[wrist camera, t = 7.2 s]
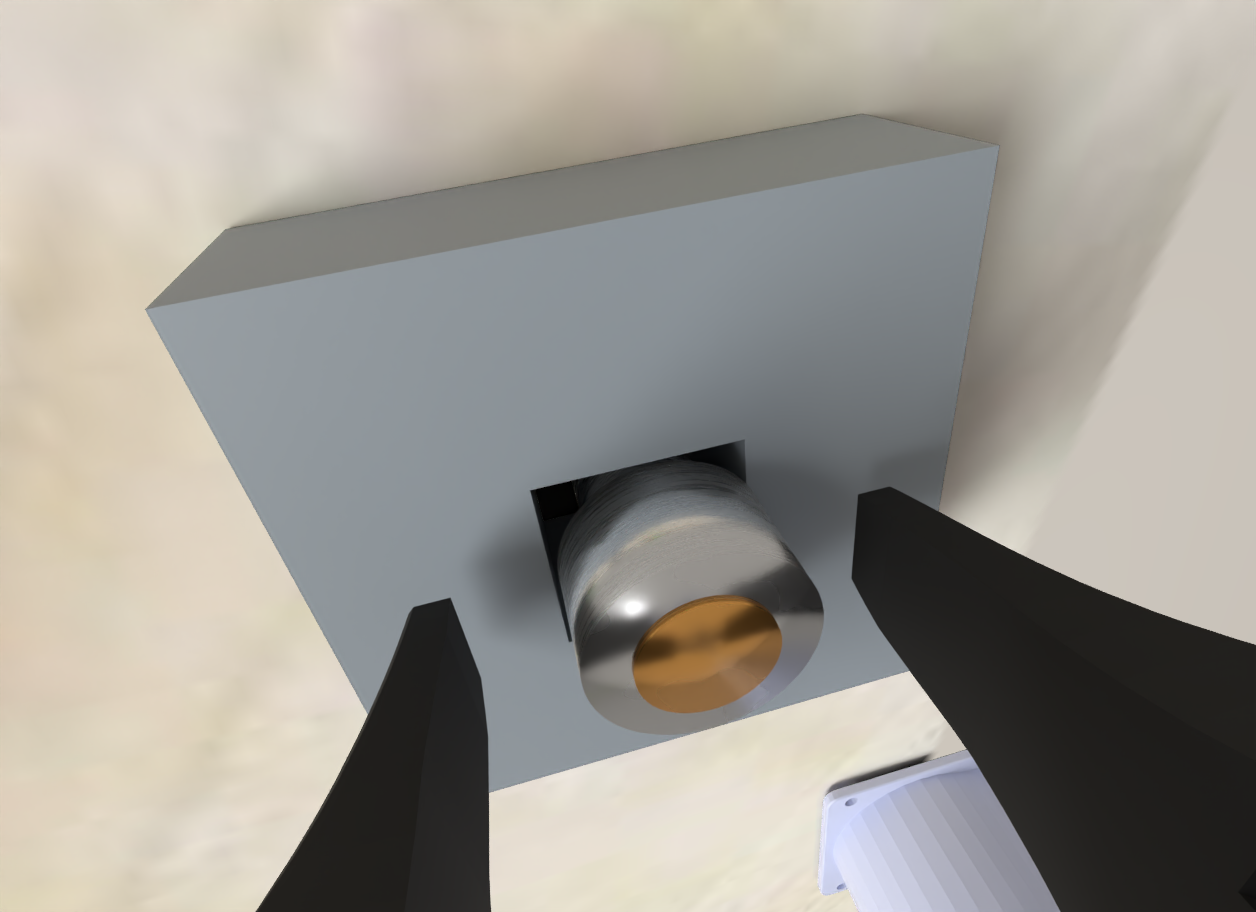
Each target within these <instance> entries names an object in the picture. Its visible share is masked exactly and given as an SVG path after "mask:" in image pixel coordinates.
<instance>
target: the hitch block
mask: <svg viewBox="0 0 1256 912" xmlns="http://www.w3.org/2000/svg"><path fill="white" fill-rule="evenodd" d="M999 146H1000V145H996V144H992V143H987V142H983V141H978V140H974V139H970V138H965V137H961V136H956V135H952V134H948V133H943V132H939V131H935V130H930V129H926V128H921V127H917V126H913V125H908V124H904V123H899V122H895V121H891V120H886V119H882V118H877V117H873V116H869V115H864V114H860V115H854V116H849V117H843V118H838V119H832V120H826V121H821V122H815V123H810V124H804V125H799V126H793V127H788V128H782V129H777V130H771V131H766V132H760V133H755V134H749V135H744V136H738V137H733V138H727V139H722V140H716V141H710V142H705V143H699V144H694V145H688V146H683V147H677V148H672V149H666V150H661V151H655V152H650V153H644V154H639V155H633V156H628V157H622V158H617V159H611V160H605V161H600V162H594V163H589V164H583V165H578V166H572V167H567V168H561V169H556V170H550V171H545V172H539V173H534V174H528V175H523V176H517V177H512V178H506V179H501V180H495V181H489V182H484V183H478V184H473V185H467V186H462V187H456V188H451V189H445V190H440V191H434V192H429V193H423V194H418V195H412V196H407V197H401V198H396V199H390V200H384V201H379V202H373V203H368V204H362V205H357V206H351V207H346V208H340V209H335V210H329V211H324V212H318V213H313V214H307V215H302V216H296V217H291V218H285V219H280V220H274V221H268V222H263V223H257V224H252V225H246V226H241V227H235V228H230V229H225V230H224V231H223V232H222V233H221V234H220V235H219V236H218V237H217V238H216V239H215V240H214V241H213V242H212V243H211V244H210V245H209V246H208V247H207V248H206V249H205V250H204V251H203V252H202V253H201V254H200V255H199V256H198V257H197V258H196V259H195V260H194V261H193V262H192V263H191V264H190V265H189V266H188V267H187V268H186V269H185V270H184V271H183V272H182V273H181V274H180V275H179V276H178V277H177V278H176V279H175V280H174V281H173V282H172V283H171V284H170V285H169V286H168V287H167V288H166V289H165V290H164V291H163V292H162V293H161V294H160V295H159V296H158V297H157V298H156V299H155V300H154V301H153V302H152V303H151V304H150V305H149V306H148V307H147V308H146V309H145V310H146V312H147V314H148V316H149V318H150V319H151V321H152V323H153V325H154V327H155V328H156V330H157V332H158V334H159V336H160V338H161V339H162V341H163V343H164V345H165V347H166V348H167V350H168V352H169V354H170V356H171V358H172V359H173V361H174V363H175V365H176V367H177V368H178V370H179V372H180V374H181V376H182V378H183V379H184V381H185V383H186V385H187V387H188V388H189V390H190V392H191V394H192V396H193V398H194V399H195V401H196V403H197V405H198V407H199V408H200V410H201V412H202V414H203V416H204V418H205V419H206V421H207V423H208V425H209V427H210V428H211V430H212V432H213V434H214V436H215V437H216V439H217V441H218V443H219V445H220V447H221V448H222V450H223V452H224V454H225V456H226V457H227V459H228V461H229V463H230V465H231V467H232V468H233V470H234V472H235V474H236V476H237V477H238V479H239V481H240V483H241V485H242V487H243V488H244V490H245V492H246V494H247V496H248V497H249V499H250V501H251V503H252V505H253V507H254V508H255V510H256V512H257V514H258V516H259V517H260V519H261V521H262V523H263V525H264V527H265V528H266V530H267V532H268V534H269V536H270V537H271V539H272V541H273V543H274V545H275V547H276V548H277V550H278V552H279V554H280V556H281V557H282V559H283V561H284V563H285V565H286V567H287V568H288V570H289V572H290V574H291V576H292V577H293V579H294V581H295V583H296V585H297V587H298V588H299V590H300V592H301V594H302V596H303V597H304V599H305V601H306V603H307V605H308V607H309V608H310V610H311V612H312V614H313V616H314V617H315V619H316V621H317V623H318V625H319V627H320V628H321V630H322V632H323V634H324V636H325V637H326V639H327V641H328V643H329V645H330V647H331V648H332V650H333V652H334V654H335V656H336V657H337V659H338V661H339V663H340V665H341V666H342V668H343V670H344V672H345V674H346V676H347V677H348V679H349V681H350V683H351V685H352V686H353V688H354V690H355V692H356V694H357V696H358V697H359V699H360V701H361V703H362V705H363V706H364V708H365V710H366V712H367V714H369V711H370V709H371V707H372V705H373V702H374V700H375V698H376V696H377V693H378V691H379V689H380V687H381V684H382V682H383V680H384V677H385V675H386V672H387V670H388V667H389V665H390V662H391V660H392V658H393V655H394V652H395V650H396V647H397V645H398V642H399V639H400V636H401V634H402V631H403V628H404V625H405V622H406V620H407V617H408V614H409V612H410V611H411V610H412V608H413V607H415V606H419V605H423V604H427V603H431V602H435V601H439V600H443V599H447V598H451V600H452V603H453V605H454V608H455V610H456V613H457V616H458V618H459V621H460V624H461V626H462V629H463V631H464V634H465V637H466V639H467V642H468V645H469V647H470V650H471V653H472V655H473V658H474V660H475V663H476V666H477V668H478V671H479V674H480V676H481V681H482V688H483V696H484V704H485V712H486V721H487V730H488V757H489V793H490V792H493V791H497V790H500V789H504V788H507V787H510V786H514V785H517V784H521V783H524V782H528V781H531V780H535V779H538V778H541V777H545V776H548V775H552V774H555V773H559V772H562V771H566V770H569V769H572V768H576V767H579V766H583V765H586V764H590V763H593V762H597V761H600V760H603V759H607V758H610V757H614V756H617V755H621V754H624V753H628V752H631V751H635V750H638V749H641V748H645V747H648V746H652V745H655V744H659V743H662V742H666V741H669V740H672V739H676V738H679V737H683V736H686V735H690V734H693V733H697V732H700V731H697V732H692V733H685V734H674V735H656V734H646V733H640V732H635V731H632V730H628V729H625V728H623V727H620V726H618V725H616V724H614V723H612V722H610V721H609V720H607V719H605V718H604V717H603V716H602V715H601V714H599V713H598V712H597V711H596V710H595V709H594V707H593V706H592V705H591V704H590V702H589V701H588V699H587V697H586V695H585V693H584V690H583V686H582V683H581V679H580V674H579V669H578V665H577V660H576V655H575V650H574V646H573V641H572V636H571V632H570V627H569V622H568V618H567V613H566V608H565V603H564V599H563V594H562V589H561V585H560V580H559V575H558V567H557V558H558V549H559V545H560V541H561V538H562V536H563V533H564V531H565V528H566V527H567V525H568V523H569V522H570V520H571V518H572V517H573V515H574V514H575V513H573V514H569V515H565V516H561V517H557V518H553V519H549V520H545V521H543V517H542V513H541V509H540V505H539V501H538V497H537V493H536V489H538V488H542V487H546V486H551V485H555V484H559V483H563V482H568V481H572V480H576V479H580V478H584V477H589V476H593V475H597V474H601V473H605V472H610V471H614V470H618V469H622V468H626V467H631V466H635V465H639V464H643V463H647V462H652V461H656V460H660V459H664V458H668V457H673V456H677V455H681V454H685V453H688V455H689V456H690V458H691V460H692V461H699V462H704V463H708V464H713V465H716V466H718V467H721V468H724V469H726V470H728V471H729V472H731V473H733V474H735V475H736V476H738V477H739V478H740V479H741V480H743V481H744V482H745V483H746V484H747V485H748V486H749V488H750V489H751V490H752V491H753V493H754V494H755V496H756V497H757V499H758V500H759V502H760V503H761V505H762V506H763V508H764V509H765V511H766V512H767V514H768V515H769V517H770V518H771V520H772V522H773V523H774V525H775V526H776V528H777V529H778V531H779V532H780V534H781V535H782V537H783V538H784V540H785V541H786V543H787V544H788V546H789V547H790V549H791V550H792V552H793V553H794V555H795V556H796V558H797V559H798V561H799V562H800V564H801V565H802V567H803V568H804V570H805V571H806V573H807V574H808V576H809V577H810V579H811V580H812V582H813V584H814V585H815V587H816V588H817V590H818V592H819V594H820V597H821V600H822V604H823V610H824V624H823V629H822V634H821V637H820V640H819V643H818V645H817V648H816V649H815V651H814V653H813V655H812V657H811V659H810V660H809V662H808V663H807V665H806V666H805V668H804V669H803V670H802V671H801V672H800V674H799V675H798V676H797V677H796V678H795V679H794V680H793V681H792V682H791V683H790V684H789V685H788V686H787V687H786V688H785V689H784V690H783V691H781V692H780V693H779V694H778V695H777V696H775V697H774V698H773V699H771V700H770V701H768V702H767V703H765V704H764V705H762V706H761V707H759V708H757V709H756V710H754V711H752V712H750V713H748V714H746V715H744V716H742V717H740V718H738V719H736V720H733V721H731V722H734V721H738V720H741V719H745V718H748V717H752V716H755V715H759V714H762V713H765V712H769V711H772V710H776V709H779V708H783V707H786V706H790V705H793V704H796V703H800V702H803V701H807V700H810V699H814V698H817V697H821V696H824V695H827V694H831V693H834V692H838V691H841V690H845V689H848V688H852V687H855V686H858V685H862V684H865V683H869V682H872V681H876V680H879V679H883V678H886V677H889V676H893V675H896V674H900V673H903V672H907V671H909V669H908V668H907V667H906V665H905V664H904V662H903V661H902V660H901V658H900V657H899V656H898V654H897V653H896V651H895V650H894V649H893V647H892V646H891V645H890V643H889V642H888V640H887V639H886V638H885V636H884V635H883V633H882V632H881V631H880V629H879V628H878V626H877V624H876V623H875V621H874V619H873V617H872V616H871V614H870V612H869V610H868V609H867V607H866V605H865V603H864V602H863V600H862V598H861V596H860V594H859V592H858V590H857V588H856V587H855V585H854V583H853V581H852V579H851V575H852V563H853V550H854V538H855V526H856V513H857V501H858V494H861V493H865V492H869V491H873V490H877V489H881V488H885V487H889V486H890V487H892V488H894V489H897V490H899V491H901V492H903V493H904V494H906V495H908V496H910V497H912V498H914V499H916V500H918V501H920V502H922V503H923V504H925V505H927V506H929V507H931V508H933V509H935V510H937V511H939V505H940V499H941V493H942V487H943V481H944V475H945V469H946V463H947V457H948V451H949V445H950V439H951V433H952V427H953V421H954V415H955V409H956V403H957V397H958V391H959V385H960V379H961V373H962V367H963V361H964V355H965V349H966V343H967V337H968V331H969V325H970V319H971V313H972V308H973V302H974V296H975V290H976V284H977V278H978V272H979V266H980V260H981V254H982V248H983V242H984V236H985V230H986V224H987V218H988V212H989V206H990V200H991V194H992V188H993V182H994V176H995V170H996V164H997V158H998V152H999ZM731 722H728V723H731ZM728 723H726V724H728ZM723 725H724V724H723ZM720 726H721V725H720ZM713 728H714V727H713ZM702 731H703V730H702Z"/></svg>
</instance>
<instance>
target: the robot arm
mask: <svg viewBox="0 0 1256 912" xmlns="http://www.w3.org/2000/svg"><path fill="white" fill-rule="evenodd" d="M851 579H852V581H853V583H854V585H855V587H856V588H857V590H858V592H859V594H860V596H861V598H862V600H863V602H864V603H865V605H866V607H867V609H868V610H869V612H870V614H871V616H872V617H873V619H874V621H875V623H876V624H877V626H878V628H879V629H880V631H881V632H882V633H883V635H884V636H885V638H886V639H887V640H888V642H889V643H890V645H891V646H892V647H893V649H894V650H895V651H896V653H897V654H898V656H899V657H900V658H901V660H902V661H903V662H904V664H905V665H906V667H907V668H908V669H909V671H910V672H911V673H912V675H913V676H914V677H915V679H916V680H917V681H918V683H919V684H920V685H921V687H922V688H923V689H924V691H925V692H926V693H927V695H928V696H929V698H930V699H931V700H932V702H933V703H934V704H935V706H936V707H937V708H938V710H939V711H940V712H941V714H942V715H943V716H944V718H945V719H946V720H947V722H948V723H949V724H950V726H951V727H952V729H953V730H954V731H955V733H956V734H957V736H958V737H959V738H960V740H961V741H962V743H963V744H964V746H965V747H966V748H967V749H966V750H963V751H960V752H956V753H953V754H950V755H947V756H943V757H940V758H937V759H934V760H930V761H927V762H924V763H921V764H917V765H914V766H911V767H908V768H905V769H901V770H898V771H895V772H892V773H888V774H885V775H882V776H879V777H875V778H872V779H869V780H866V781H862V782H859V783H856V784H853V785H849V786H846V787H843V788H840V789H837V790H834V791H831V792H830V793H828V794H827V795H826V796H825V798H824V800H823V812H822V827H821V842H820V857H819V872H818V887H819V890H820V892H821V894H823V895H831V894H834V893H837V892H840V891H843V890H846V889H848V890H849V893H850V895H851V897H852V899H853V901H854V903H855V905H856V907H857V910H858V912H1256V645H1254V644H1251V643H1248V642H1244V641H1240V640H1237V639H1234V638H1231V637H1228V636H1225V635H1222V634H1219V633H1216V632H1213V631H1210V630H1207V629H1204V628H1200V627H1197V626H1194V625H1191V624H1188V623H1185V622H1182V621H1179V620H1176V619H1173V618H1171V617H1168V616H1165V615H1162V614H1159V613H1157V612H1154V611H1151V610H1149V609H1146V608H1143V607H1141V606H1138V605H1136V604H1133V603H1131V602H1128V601H1125V600H1123V599H1120V598H1118V597H1115V596H1112V595H1110V594H1107V593H1105V592H1102V591H1100V590H1098V589H1095V588H1093V587H1091V586H1088V585H1086V584H1083V583H1081V582H1079V581H1076V580H1074V579H1072V578H1070V577H1068V576H1066V575H1063V574H1061V573H1059V572H1057V571H1054V570H1052V569H1050V568H1048V567H1046V566H1044V565H1042V564H1039V563H1037V562H1035V561H1033V560H1031V559H1029V558H1027V557H1025V556H1023V555H1021V554H1019V553H1017V552H1015V551H1013V550H1011V549H1009V548H1007V547H1005V546H1003V545H1001V544H999V543H997V542H995V541H993V540H991V539H989V538H987V537H985V536H983V535H981V534H980V533H978V532H976V531H974V530H972V529H970V528H968V527H966V526H964V525H963V524H961V523H959V522H957V521H955V520H953V519H951V518H950V517H948V516H946V515H944V514H942V513H940V512H938V511H937V510H935V509H933V508H931V507H929V506H927V505H925V504H923V503H922V502H920V501H918V500H916V499H914V498H912V497H910V496H908V495H906V494H904V493H903V492H901V491H899V490H897V489H894V488H892V487H890V486H889V487H885V488H881V489H877V490H873V491H869V492H865V493H861V494H858V501H857V513H856V526H855V538H854V550H853V563H852V575H851ZM256 912H491V904H490V881H489V757H488V730H487V721H486V712H485V704H484V696H483V688H482V681H481V676H480V674H479V671H478V668H477V666H476V663H475V660H474V658H473V655H472V653H471V650H470V647H469V645H468V642H467V639H466V637H465V634H464V631H463V629H462V626H461V624H460V621H459V618H458V616H457V613H456V610H455V608H454V605H453V603H452V600H451V598H447V599H443V600H439V601H435V602H431V603H427V604H423V605H419V606H415V607H413V608H412V610H411V611H410V612H409V614H408V617H407V620H406V622H405V625H404V628H403V631H402V634H401V636H400V639H399V642H398V645H397V647H396V650H395V652H394V655H393V658H392V660H391V662H390V665H389V667H388V670H387V672H386V675H385V677H384V680H383V682H382V684H381V687H380V689H379V691H378V693H377V696H376V698H375V700H374V702H373V705H372V707H371V709H370V711H369V714H368V716H367V718H366V720H365V723H364V725H363V727H362V729H361V731H360V733H359V735H358V737H357V739H356V741H355V743H354V745H353V747H352V749H351V751H350V753H349V755H348V757H347V759H346V761H345V763H344V765H343V767H342V769H341V771H340V773H339V775H338V777H337V779H336V781H335V783H334V785H333V786H332V788H331V790H330V792H329V794H328V795H327V797H326V799H325V801H324V803H323V805H322V806H321V808H320V810H319V812H318V813H317V815H316V817H315V819H314V820H313V822H312V824H311V825H310V827H309V829H308V830H307V832H306V834H305V835H304V837H303V839H302V840H301V842H300V844H299V845H298V847H297V849H296V850H295V852H294V854H293V855H292V857H291V858H290V860H289V862H288V863H287V865H286V866H285V868H284V869H283V871H282V872H281V874H280V875H279V877H278V878H277V880H276V882H275V883H274V885H273V886H272V888H271V889H270V891H269V892H268V894H267V895H266V897H265V898H264V900H263V901H262V903H261V904H260V906H259V908H258V909H257V910H256Z"/></svg>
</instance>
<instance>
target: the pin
mask: <svg viewBox="0 0 1256 912" xmlns="http://www.w3.org/2000/svg"><path fill="white" fill-rule="evenodd" d="M571 482H572V486H573V489H574V493H575V496H576V500H577V503H578V507H579V509H578V510H577V511H576V513H575V514H574V515H573V517H572V518H571V520H570V522H569V523H568V525H567V527H566V528H565V531H564V533H563V536H562V538H561V541H560V545H559V549H558V558H557V567H558V575H559V580H560V585H561V589H562V594H563V599H564V603H565V608H566V613H567V618H568V622H569V627H570V632H571V636H572V641H573V646H574V650H575V655H576V660H577V665H578V669H579V674H580V679H581V683H582V686H583V690H584V693H585V695H586V697H587V699H588V701H589V702H590V704H591V705H592V706H593V707H594V709H595V710H596V711H597V712H598V713H599V714H601V715H602V716H603V717H604V718H605V719H607V720H609V721H610V722H612V723H614V724H616V725H618V726H620V727H623V728H625V729H628V730H632V731H635V732H640V733H646V734H656V735H674V734H685V733H692V732H697V731H702V730H707V729H710V728H713V727H717V726H720V725H723V724H726V723H728V722H731V721H733V720H736V719H738V718H740V717H742V716H744V715H746V714H748V713H750V712H752V711H754V710H756V709H757V708H759V707H761V706H762V705H764V704H765V703H767V702H768V701H770V700H771V699H773V698H774V697H775V696H777V695H778V694H779V693H780V692H781V691H783V690H784V689H785V688H786V687H787V686H788V685H789V684H790V683H791V682H792V681H793V680H794V679H795V678H796V677H797V676H798V675H799V674H800V672H801V671H802V670H803V669H804V668H805V666H806V665H807V663H808V662H809V660H810V659H811V657H812V655H813V653H814V651H815V649H816V648H817V645H818V643H819V640H820V637H821V634H822V629H823V624H824V610H823V604H822V600H821V597H820V594H819V592H818V590H817V588H816V587H815V585H814V584H813V582H812V580H811V579H810V577H809V576H808V574H807V573H806V571H805V570H804V568H803V567H802V565H801V564H800V562H799V561H798V559H797V558H796V556H795V555H794V553H793V552H792V550H791V549H790V547H789V546H788V544H787V543H786V541H785V540H784V538H783V537H782V535H781V534H780V532H779V531H778V529H777V528H776V526H775V525H774V523H773V522H772V520H771V518H770V517H769V515H768V514H767V512H766V511H765V509H764V508H763V506H762V505H761V503H760V502H759V500H758V499H757V497H756V496H755V494H754V493H753V491H752V490H751V489H750V488H749V486H748V485H747V484H746V483H745V482H744V481H743V480H741V479H740V478H739V477H738V476H736V475H735V474H733V473H731V472H729V471H728V470H726V469H724V468H721V467H718V466H716V465H713V464H708V463H704V462H699V461H692V460H691V458H690V456H689V455H688V453H685V454H681V455H677V456H673V457H668V458H664V459H660V460H656V461H652V462H647V463H643V464H639V465H635V466H631V467H626V468H622V469H618V470H614V471H610V472H605V473H601V474H597V475H593V476H589V477H584V478H580V479H576V480H572V481H571Z"/></svg>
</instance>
